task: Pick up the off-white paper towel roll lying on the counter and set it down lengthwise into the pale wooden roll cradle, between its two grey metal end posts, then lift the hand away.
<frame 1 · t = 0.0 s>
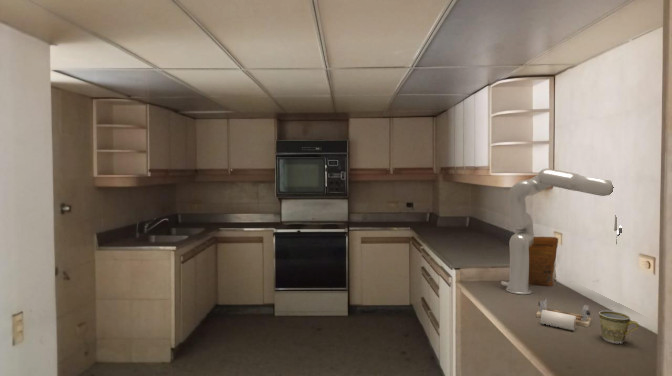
hand: (621, 243, 201), 31 cm above the table, tool pointing down, fingers open, 9 cm apart
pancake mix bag: (538, 285, 244), on the table
paper roll: (557, 327, 178), on the table
roll cradle: (563, 318, 187), on the table
ceramic cup: (617, 342, 162), on the table
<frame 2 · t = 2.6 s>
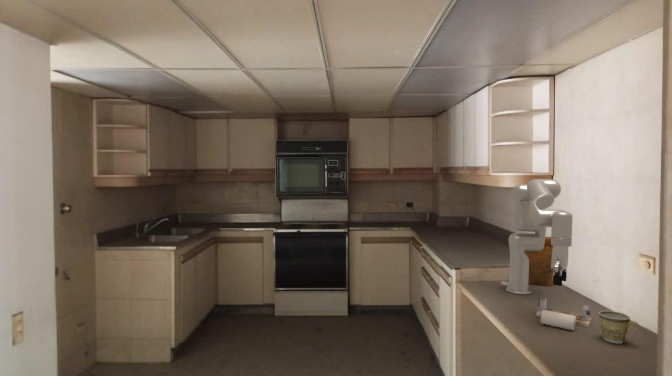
hand: (559, 282, 177), 18 cm above the table, tool pointing down, fingers open, 9 cm apart
nothing on the table moved.
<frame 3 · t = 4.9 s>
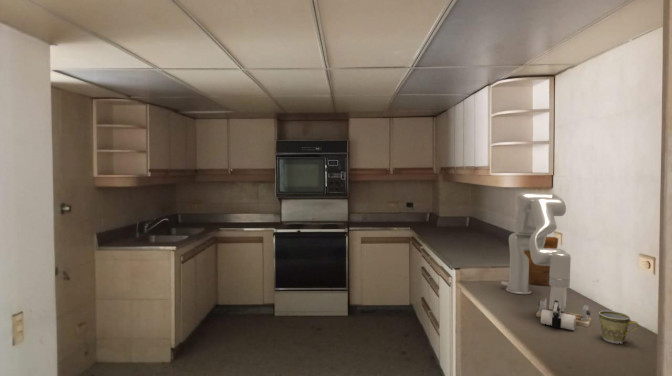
hand: (557, 324, 178), 1 cm above the table, tool pointing down, fingers closed on paper roll, 6 cm apart
paper roll: (557, 326, 178), on the table, touching gripper
everything else where it was.
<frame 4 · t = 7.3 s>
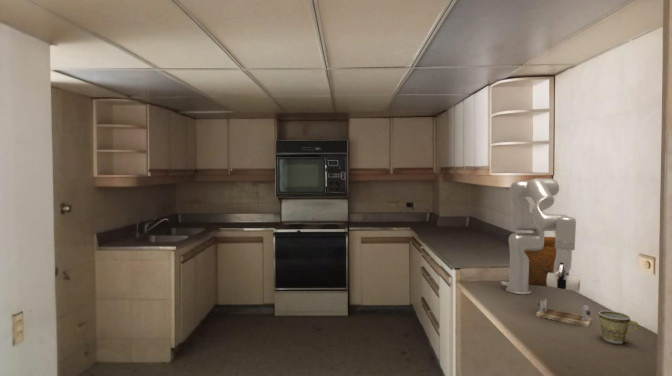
hand: (563, 286, 185), 15 cm above the table, tool pointing down, fingers closed on paper roll, 6 cm apart
paper roll: (562, 288, 185), point 14 cm above the table, touching gripper
everything else where it was.
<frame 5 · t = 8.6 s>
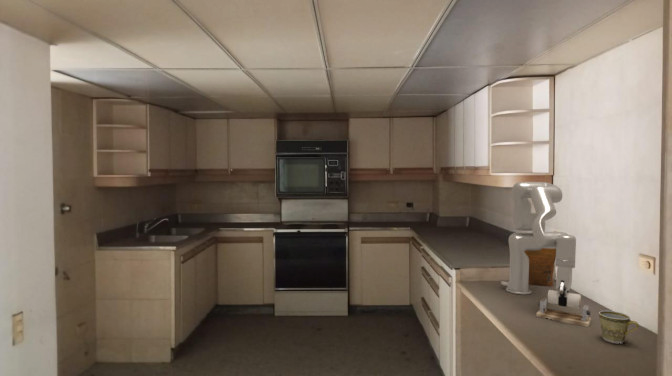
hand: (563, 303, 187), 7 cm above the table, tool pointing down, fingers closed on paper roll, 6 cm apart
paper roll: (563, 305, 187), point 6 cm above the table, touching gripper
everything else where it was.
when the fingers open (3 cm above the table, at t = 9.8 s): paper roll stays where it is, resting on roll cradle.
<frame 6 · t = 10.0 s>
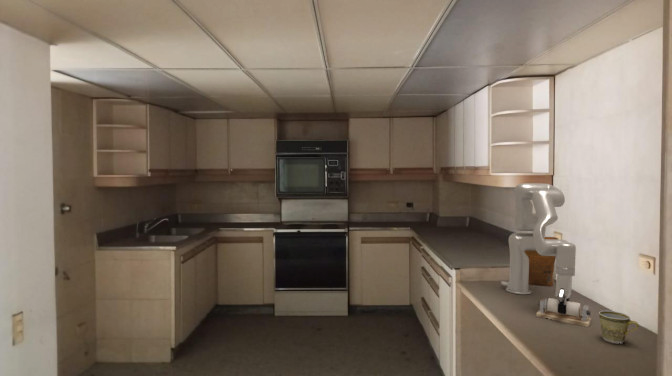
hand: (563, 310, 187), 4 cm above the table, tool pointing down, fingers open, 7 cm apart
paper roll: (563, 314, 187), point 2 cm above the table, touching roll cradle
everything else where it was.
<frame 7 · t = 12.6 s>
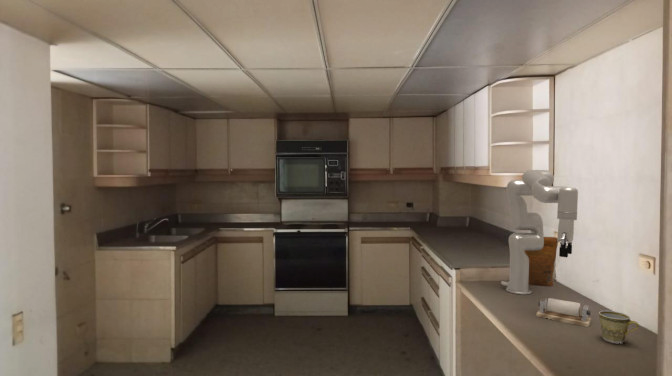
hand: (565, 255, 186), 28 cm above the table, tool pointing down, fingers open, 9 cm apart
nothing on the table moved.
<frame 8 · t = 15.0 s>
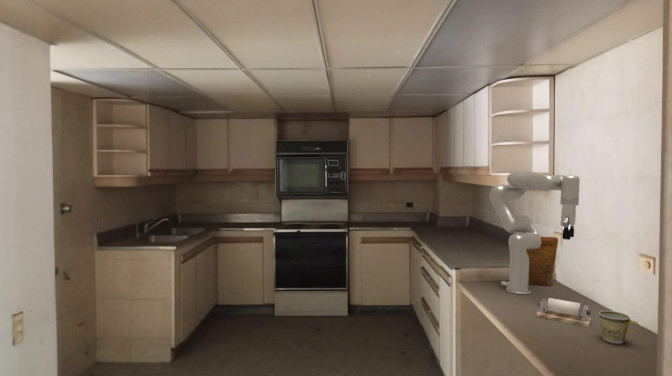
hand: (568, 238, 201), 33 cm above the table, tool pointing down, fingers open, 9 cm apart
nothing on the table moved.
at the end: paper roll 0.1 cm off-centre on the roll cradle, point 2.1 cm above the roll cradle's base; paper roll touching roll cradle; the gripper is holding nothing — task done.
